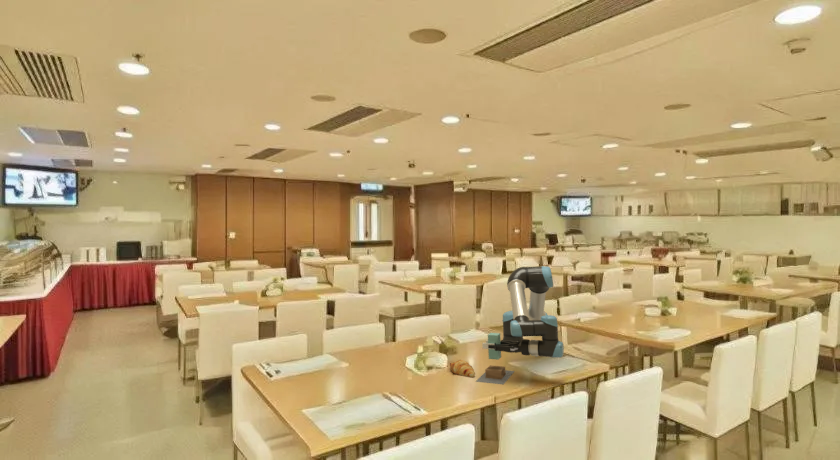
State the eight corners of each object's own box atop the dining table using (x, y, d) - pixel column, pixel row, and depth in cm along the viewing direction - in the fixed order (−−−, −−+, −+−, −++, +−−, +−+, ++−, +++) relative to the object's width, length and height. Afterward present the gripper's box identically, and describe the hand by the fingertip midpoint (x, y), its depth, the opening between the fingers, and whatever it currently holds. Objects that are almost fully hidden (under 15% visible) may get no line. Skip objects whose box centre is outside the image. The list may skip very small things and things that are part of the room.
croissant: (478, 384, 234) (484, 369, 235) (464, 378, 229) (470, 363, 231) (454, 373, 252) (460, 359, 254) (440, 367, 247) (446, 353, 249)
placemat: (488, 369, 246) (488, 368, 246) (514, 371, 240) (514, 371, 240) (475, 382, 226) (475, 381, 226) (503, 385, 220) (503, 384, 220)
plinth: (490, 373, 238) (490, 365, 238) (505, 374, 235) (505, 366, 235) (485, 377, 231) (485, 369, 231) (501, 379, 228) (500, 371, 228)
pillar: (491, 356, 236) (490, 332, 236) (501, 357, 234) (500, 333, 234) (488, 358, 232) (487, 334, 232) (498, 359, 229) (497, 335, 230)
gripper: (526, 360, 217) (478, 356, 227) (534, 350, 233) (489, 347, 243) (525, 344, 217) (478, 340, 227) (533, 335, 233) (489, 333, 243)
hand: (484, 344), depth 235 cm, fingers closed on pillar, 5 cm apart
